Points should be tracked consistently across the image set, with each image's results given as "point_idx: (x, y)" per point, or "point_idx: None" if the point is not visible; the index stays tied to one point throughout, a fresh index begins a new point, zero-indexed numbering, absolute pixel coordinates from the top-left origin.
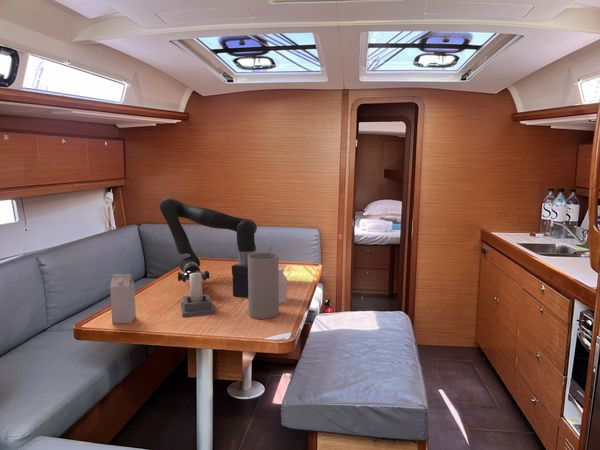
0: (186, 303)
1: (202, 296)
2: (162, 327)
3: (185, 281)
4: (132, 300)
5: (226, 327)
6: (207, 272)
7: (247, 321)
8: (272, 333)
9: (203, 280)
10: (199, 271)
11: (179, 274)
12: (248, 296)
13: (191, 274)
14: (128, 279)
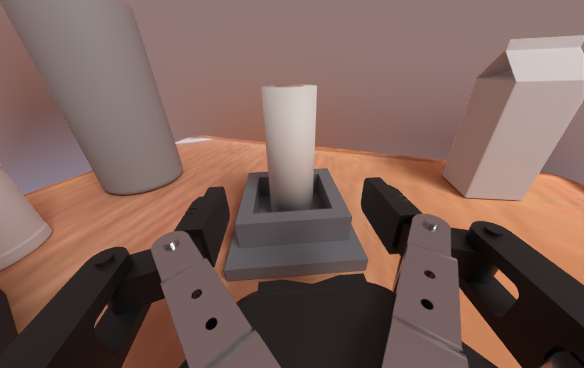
0: (322, 171)
1: (265, 214)
2: (357, 161)
3: (363, 199)
4: (472, 135)
5: (246, 155)
6: (72, 302)
7: (201, 164)
8: (195, 143)
9: (227, 220)
10: (189, 326)
11: (540, 273)
12: (164, 135)
13: (306, 86)
14: (503, 58)
